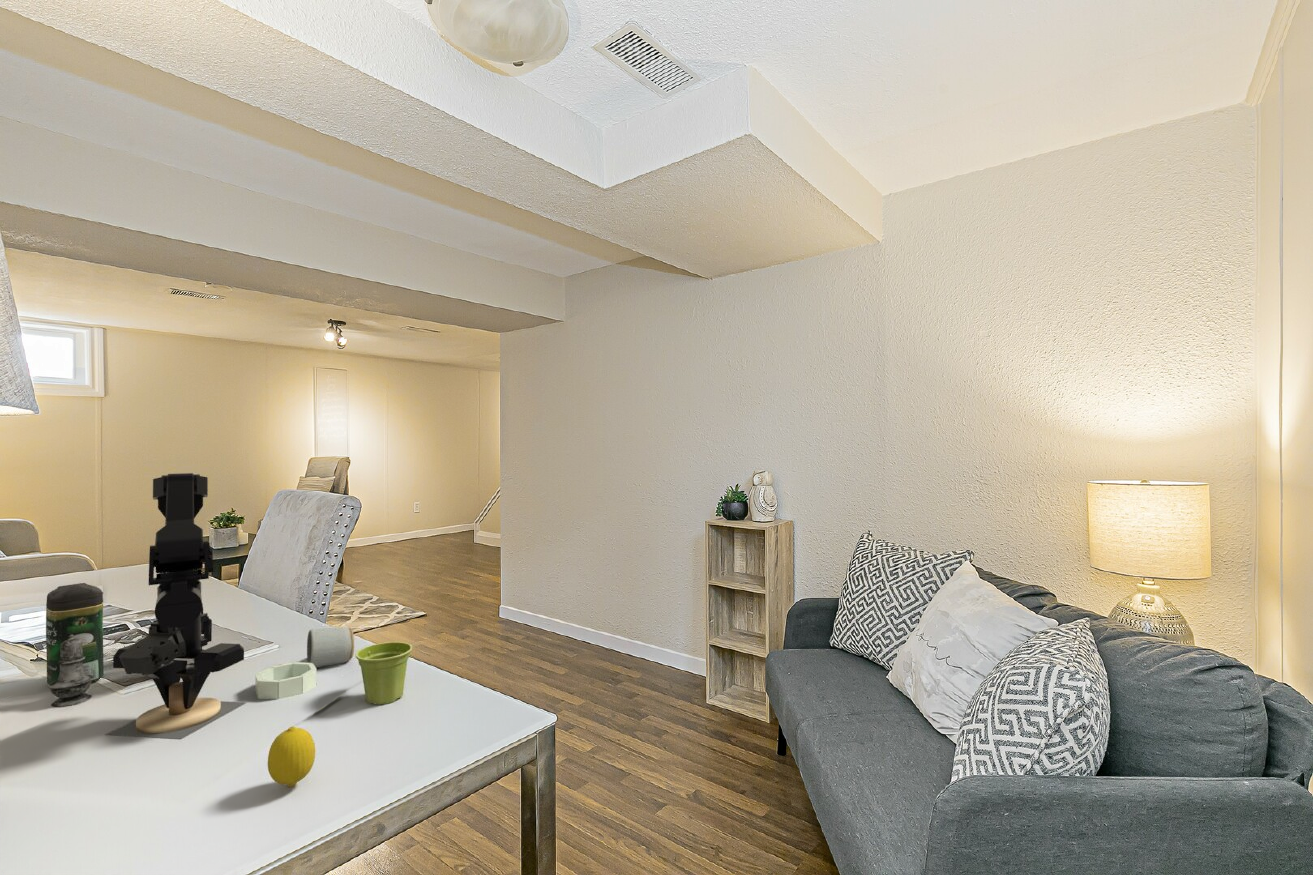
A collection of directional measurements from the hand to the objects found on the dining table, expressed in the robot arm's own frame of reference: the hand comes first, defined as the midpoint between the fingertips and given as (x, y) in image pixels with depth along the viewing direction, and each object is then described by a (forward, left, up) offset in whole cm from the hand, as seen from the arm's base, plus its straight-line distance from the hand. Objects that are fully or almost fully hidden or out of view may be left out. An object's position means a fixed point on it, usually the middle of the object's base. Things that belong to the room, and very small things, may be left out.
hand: (179, 707), depth 101 cm
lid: (0, 0, -2) cm, 2 cm away
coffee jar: (-35, +14, -3) cm, 38 cm away
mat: (0, 0, -3) cm, 3 cm away
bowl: (+9, +13, -3) cm, 16 cm away
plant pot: (+28, +13, -3) cm, 31 cm away
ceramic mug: (+6, +29, -3) cm, 30 cm away
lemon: (+31, -15, -3) cm, 35 cm away
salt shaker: (-27, +6, -3) cm, 28 cm away
